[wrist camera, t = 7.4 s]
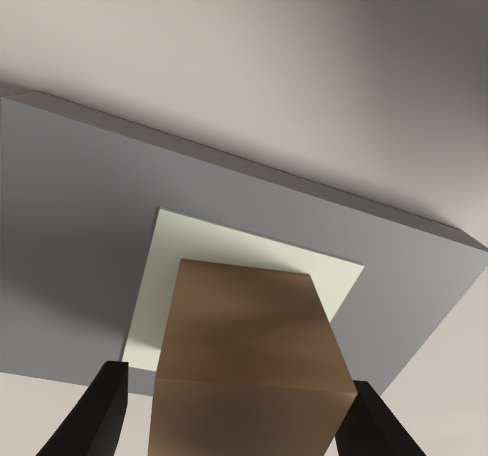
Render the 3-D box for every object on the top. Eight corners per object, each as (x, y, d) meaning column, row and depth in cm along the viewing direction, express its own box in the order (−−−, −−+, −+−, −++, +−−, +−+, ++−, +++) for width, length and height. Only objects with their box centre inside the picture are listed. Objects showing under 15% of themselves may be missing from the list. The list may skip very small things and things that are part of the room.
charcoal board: (463, 230, 14) (499, 256, 13) (341, 395, 19) (354, 431, 18) (36, 90, 11) (-3, 96, 9) (24, 337, 16) (-3, 374, 14)
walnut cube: (310, 274, 12) (357, 393, 8) (279, 362, 15) (303, 492, 10) (180, 258, 12) (154, 378, 7) (169, 352, 14) (144, 488, 10)
